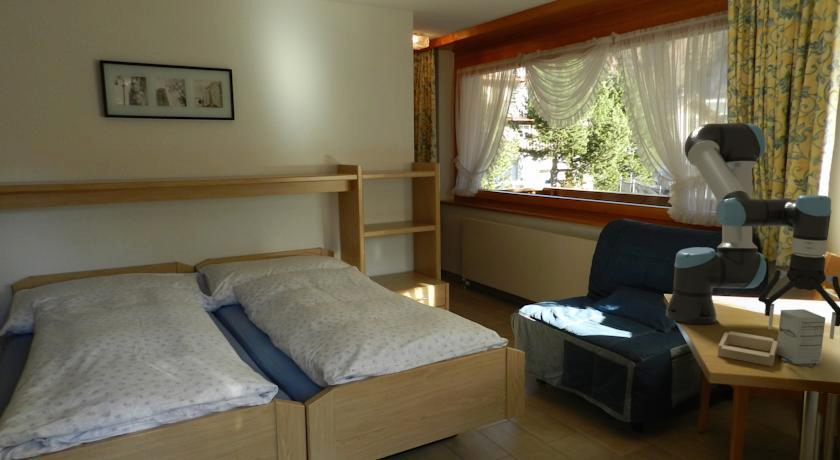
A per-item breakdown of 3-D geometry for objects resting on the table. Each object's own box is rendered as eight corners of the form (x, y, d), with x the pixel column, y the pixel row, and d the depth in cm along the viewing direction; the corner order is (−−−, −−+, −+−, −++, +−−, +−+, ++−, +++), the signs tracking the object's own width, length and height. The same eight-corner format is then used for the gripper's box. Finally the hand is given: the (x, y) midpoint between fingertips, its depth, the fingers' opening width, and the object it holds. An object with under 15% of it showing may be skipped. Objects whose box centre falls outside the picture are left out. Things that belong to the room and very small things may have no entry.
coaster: (780, 361, 151) (781, 359, 151) (782, 353, 157) (782, 351, 157) (812, 367, 147) (813, 365, 147) (813, 359, 153) (813, 357, 153)
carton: (716, 357, 154) (717, 347, 153) (725, 340, 167) (726, 330, 167) (772, 368, 146) (773, 357, 146) (776, 349, 160) (777, 339, 159)
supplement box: (775, 353, 155) (779, 309, 153) (800, 353, 156) (805, 308, 154) (794, 364, 148) (799, 317, 146) (821, 363, 148) (826, 316, 146)
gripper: (751, 251, 151) (744, 327, 155) (869, 262, 137) (859, 346, 140) (754, 247, 158) (747, 320, 161) (867, 257, 143) (858, 337, 147)
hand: (800, 332), depth 151 cm, fingers open, 13 cm apart
